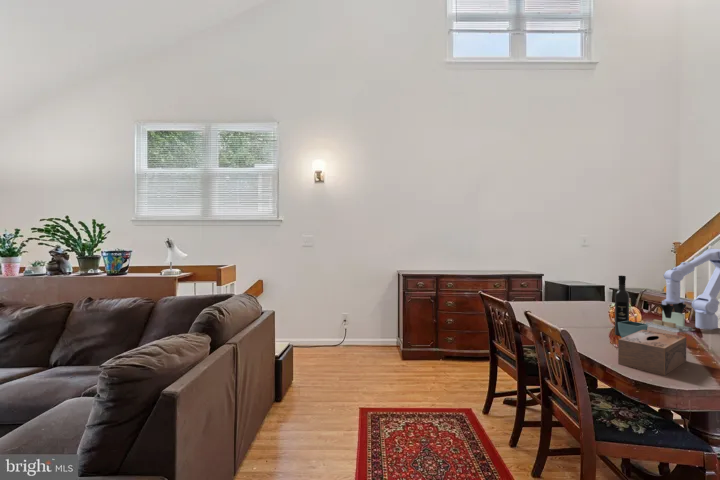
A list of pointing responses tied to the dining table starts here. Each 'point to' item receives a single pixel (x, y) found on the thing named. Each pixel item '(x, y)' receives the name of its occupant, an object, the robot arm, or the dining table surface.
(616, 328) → the wine bottle
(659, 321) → the oak offcut
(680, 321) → the sage panel
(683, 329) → the slot rack
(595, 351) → the dining table surface
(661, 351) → the tissue box cover
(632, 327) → the flower pot
